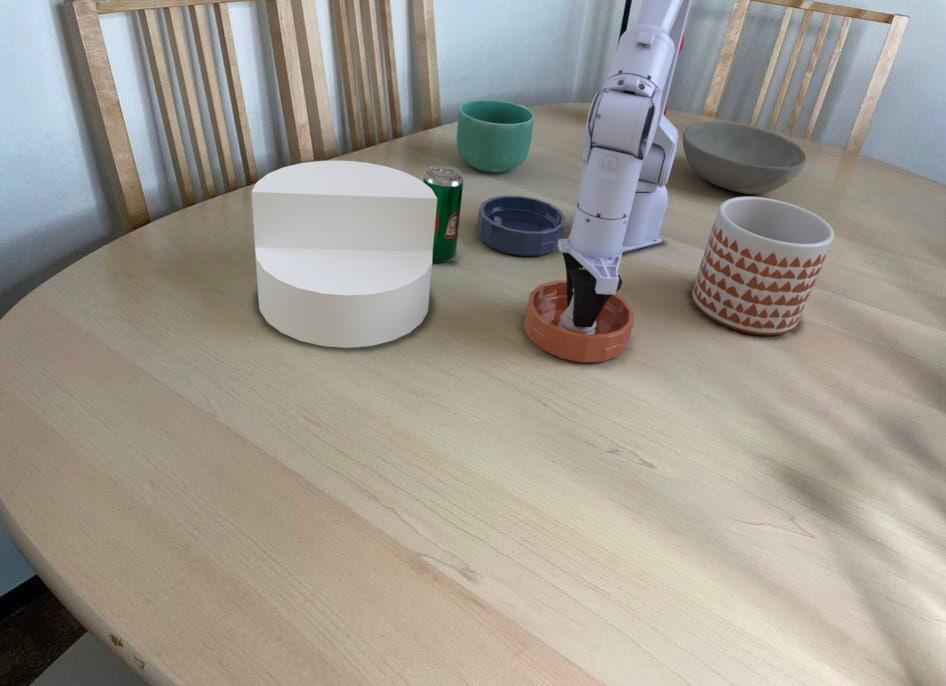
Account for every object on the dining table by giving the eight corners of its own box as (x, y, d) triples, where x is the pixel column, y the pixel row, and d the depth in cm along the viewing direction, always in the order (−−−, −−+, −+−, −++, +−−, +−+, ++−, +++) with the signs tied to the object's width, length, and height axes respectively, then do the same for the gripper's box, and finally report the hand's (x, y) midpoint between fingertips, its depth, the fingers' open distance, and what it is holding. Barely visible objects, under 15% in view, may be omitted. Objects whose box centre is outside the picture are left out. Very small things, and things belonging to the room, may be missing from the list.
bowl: (803, 185, 138) (818, 143, 133) (776, 221, 123) (793, 175, 118) (693, 153, 146) (705, 113, 142) (655, 183, 131) (667, 139, 126)
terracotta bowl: (580, 298, 95) (585, 272, 93) (648, 348, 87) (656, 321, 85) (503, 320, 89) (507, 293, 87) (569, 376, 81) (575, 348, 79)
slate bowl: (526, 213, 114) (530, 190, 112) (578, 248, 107) (583, 224, 104) (460, 227, 108) (463, 202, 106) (510, 264, 100) (514, 239, 98)
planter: (723, 271, 105) (752, 187, 98) (815, 314, 98) (853, 227, 91) (671, 300, 97) (698, 210, 90) (766, 350, 89) (804, 256, 82)
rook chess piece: (554, 320, 89) (565, 261, 85) (590, 321, 90) (603, 263, 85) (560, 341, 86) (573, 281, 81) (598, 342, 86) (613, 283, 82)
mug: (497, 186, 122) (505, 129, 117) (439, 162, 128) (444, 107, 123) (551, 163, 134) (561, 110, 128) (495, 142, 139) (502, 91, 134)
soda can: (450, 267, 98) (459, 181, 91) (413, 260, 98) (419, 174, 92) (458, 250, 102) (468, 167, 95) (423, 244, 103) (429, 160, 96)
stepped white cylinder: (251, 348, 79) (242, 234, 71) (264, 257, 95) (258, 156, 87) (438, 347, 83) (448, 240, 75) (420, 260, 99) (427, 164, 91)
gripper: (555, 178, 84) (536, 281, 92) (579, 236, 72) (555, 350, 80) (615, 182, 85) (592, 285, 93) (649, 241, 73) (619, 353, 81)
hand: (579, 315), depth 86 cm, fingers closed on rook chess piece, 3 cm apart
